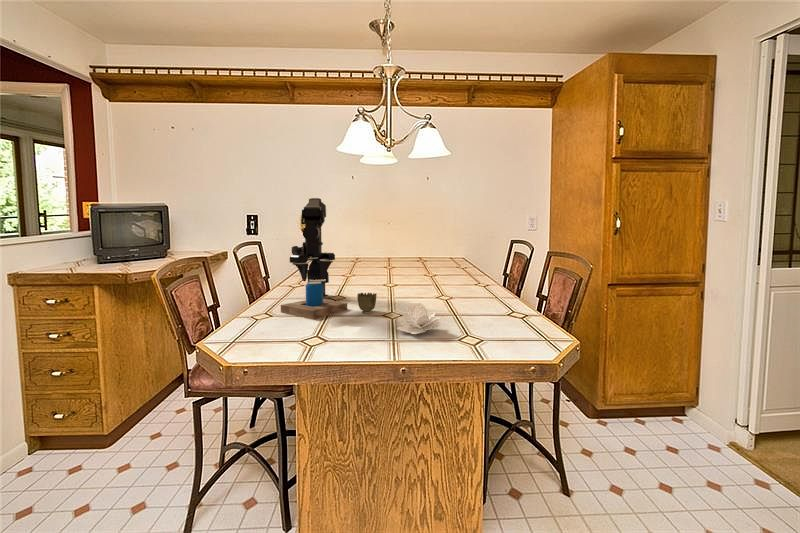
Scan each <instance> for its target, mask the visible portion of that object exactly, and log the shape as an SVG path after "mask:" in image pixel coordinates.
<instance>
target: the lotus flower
mask: <svg viewBox="0 0 800 533" xmlns="http://www.w3.org/2000/svg"><path fill="white" fill-rule="evenodd" d="M406 310H407V314H406V312H402V313H401V314H402V316H403V318H402V317H400V316H398V319H400V320H401V321H400V324H399V325H401V326H398V327H397V328H396V330H399V331H401V332H403V333H409V334H410V335H418V334H422V333H425V332H427V331H428V330H433V329H438V328H439V326H440V325H441V323H442V322H441V321H439V320H440V319H441V317H436V316H435V315H436V313H437V312H436V311H434V313H432V312H431V310H430V309H429V308H427V307H425V306H424V304H422V303H419V304H417V305H416V307H415V308H413V307H411V308H408V307H407V306H406Z"/></svg>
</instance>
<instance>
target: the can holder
mask: <svg viewBox="0 0 800 533" xmlns="http://www.w3.org/2000/svg"><path fill="white" fill-rule="evenodd" d="M347 310H348V303H347V302H341V301H335V300H329V299H323V305H321V306H316V307H311V306H306V299H305V300H300V301H294V302H289V303H285V304H284V303H283V304H280V313H281V314H285V315H289V316H290V315H291V316H295V317H300V318H303V317H304V319H308V320H312V321H313V320H317V318H318V319H320V318H323V317H327V316H330V315H333V314H337V313H341V312H344V311H347Z"/></svg>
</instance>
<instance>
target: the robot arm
mask: <svg viewBox="0 0 800 533" xmlns="http://www.w3.org/2000/svg"><path fill="white" fill-rule="evenodd" d="M300 218H301V220H300V222H301V223H300V224H301V225H304V227H303V230H302V236H303V239H304V242H302V246H298V245H293V246H292V247H291V255H290V257H289V263H291V264H292V265H293V266H295V267H296V268H297V270H298V271H299V274H300V276H301V279H302V281H303V282H306V281H307V282H313V281H318V282H321V284H322V285H323V298H324V297H328V296H329V294H326V284H329V280H330V279H329V277H330V276H329V272H328V270H329V268H330V266H331V264H332V263H333V262H334V261H336V255H335V253H334V252H326V251H325V252H322V251H323V249H322V245H323V244H324V243H323V242H322V227H323V224H324V223H325V221H326V219H325V218H327V205H326V204H325V203H324V202H322V198H319V197H311V198H308V203H307V204H306V205H305V206H304V207H303V209H301V217H300ZM308 261H311V262H310V263H308Z"/></svg>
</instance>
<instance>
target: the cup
mask: <svg viewBox="0 0 800 533" xmlns="http://www.w3.org/2000/svg"><path fill="white" fill-rule="evenodd" d="M356 295H357V296H356V297H357V303H358V307H359V309H360V310H361V311H362V312H361V313H362V314H371V313H373V311H374V309H375V308H376V303H377V292H376V293H375V292H373V293H372V292H358V293H357V294H356Z"/></svg>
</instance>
